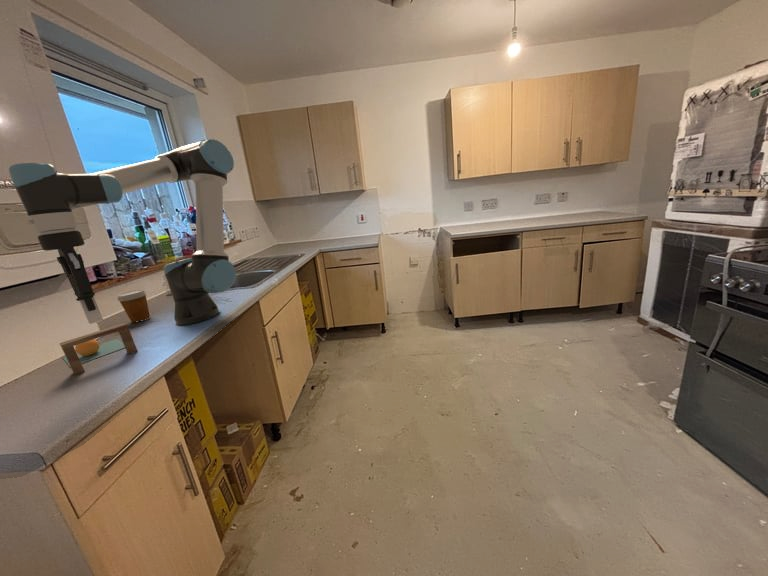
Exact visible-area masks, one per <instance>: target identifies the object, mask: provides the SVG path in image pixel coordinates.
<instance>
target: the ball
mask: <svg viewBox="0 0 768 576" xmlns="http://www.w3.org/2000/svg"><path fill="white" fill-rule="evenodd" d="M99 345H100V343H99V341H97V339H93V340H90V341H87V342H84V343H81V344H78V345H75V347H74V349H75V351H76V352H77V353H78V354H79V355H82V356H90V355H93V354H95V353H96V352H97V351H98V350H99Z"/></svg>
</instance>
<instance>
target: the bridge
mask: <svg viewBox="0 0 768 576" xmlns="http://www.w3.org/2000/svg"><path fill="white" fill-rule="evenodd" d="M117 332H118V334H119V336H120V338H121V340H122V341H121V342H123V344H124V346H125V348H124V349H125V351H126V353H127V354H129V355H132V354H134V353H138V348H137V346H136V343H135V341H134V339H133V335H132V333H131V331H130V328H129V326H128V324H127V323H125V322H122V323H119V324H116V325H113V326H111V327H108V328H104V329H101V330H98V331H93V332H91V333H89V334H86V335H85V334H84V335H82V336H79V337H75V338H72V339H69V340H66V341H65V340H64V341H63V342H59V345H60V347H61V349H62V351H63V354H64V357H65V356H66V358H67V360H68V362H69V364H70V366H69V368H70V369H71V371H72V373H73V374H74V375H75V376H77V375H79V374H82V373H85V372H86V371H85V369H84V366H83V364H81V362H80V360H79V358H78V355H77V353H76V350H75V347H76V345H78V344H81V343H84V342H87V341H90V340H93V339H94V340H97V339H100V338H102V337H106V336H108V335H111V334H114V333H117ZM74 346H75V347H74Z"/></svg>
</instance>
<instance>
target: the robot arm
mask: <svg viewBox="0 0 768 576" xmlns="http://www.w3.org/2000/svg"><path fill="white" fill-rule="evenodd" d="M234 166H235V162H234V158H233V155H232V153H231V152H230V150H229V149H228V147H227V146H226V145H225V144H224V143H222V142H221V141H219V140H218V139H215V138H213V139H212V138H211V139H210V138H209V139H202V140H200V141H198V142H194V143H190V144H187V145H183V146H180V147H178V148H175V149H173V150H171V151H168V152H165V153H162V154H158V155H156V156H155V158H154V159H150V160H145V161H142V162H137V163H133V164H127V165H124V166H120V167H116V168H115V167H114V168H110V169H107V170H103V171H102V170H101V171H97V172H94V173H61V172H60V173H59V172H58V171H57V170H56V168H55V167H54V165H52V164H51V163H43V162H23V163H22V162H20V163H15V164H12V165H10V166H9V167H8V172H9V174H10V178H11V181H12V184H13V188H15V190H16V193H17V194H18V196H19V199H20V201H21V203H22V205H23V207H24V209H25V211H26V214H27V216H28V218H29V219H28V220H26V223H27V225H32V228H33V230H34V231H35V233H37V234H38V233H39V235H38V236H37V239H38V242H39V244H40V246H41V249H42V250H43V251H47V252H48V251H55V250H57V252H58V255H59V256H57V257H56V260H57V262H58V264H60V266H61V269H62V270H63V272H64V274H65V275H66V277H67V279H68V282H69V284H70V286H71V288H72V291H73V292H74V295H75V297H76V298H75V301H77V302H79V303H80V305H81V308H82V311H83V312H84V315H85V317H86V319H87V323H88V324H89V325H92V324H94V323H98V322H101V321H104V318H103V316H102V314H101V311H100V309H99V305H98V303H97V301H96V299H95V297H94V296H96V294H95V292H94V290H93V287H92V284H91V282H90V279H89V275H88V273H87V270H86V268H85V263H84V260H83V257H82V255H81V253H77V251H76V250H75V248H74V247H81V246H84V245H85V241H84V238H83V235H82V232H81V231H79V230H77V229H78V228H79V225H78V221H77V220H76V217H75V215H74V212H73V211H72V210H74V209H75V210H76V209H79V208H86V207H90V206H95V205H103V204H107V205H109V204H114V203H120V201H121V200H122V199H123V196H124V195H125V194H129V193H132V192H135V191H136V192H137V191H139V190H143V189H146V188H149V187H152V186H153V187H154V186H156V185H159V184H163V183H170V184H174V183H177V182H183V181H189V180H190V181H193V183H194V184H195V185H194V186H195V187H194V188H195V228H196V229H195V230H196V232H195V233H196V235H195V236H196V237H195V238H196V239H195V240H196V250H195V251H194V252H193V253H192V254H191V257H189V258H184V259H181V260H176V261H173V262H170V263H166V264H165V265H164V266H163V272H164V277H165V278H166V281H167V284H168V287H169V290H170V293H171V296H172V299H173V301H174V321H175V324H176V325H179V326H185V325H186V326H187V325H191V324H196V323H200V322H203V320H204V321H207V320H209V319H211V318H210V317H212V316H214V315H216V314H217V313H218V312H219V313H220V309H219V307H218V305H217V303H215V301H214V300H213V299H212V297H211V296H210V294H219V293H224V292H226V291H228V290H229V289H231V287H232V286H233V285H234V283H235V280H236V277H237V272H236V268H235V266H233V263H232V262H231V261H229V255H228V254H227V253H226V252H225V251H224V249H225V244H224V242H225V241H224V201H223V198H224V196H223V194H224V192H223V189H224V186H225V185H226V184H227V183H228V174H230V173H231V171H233V169H234ZM219 313H218V314H219ZM218 314H217V315H218ZM217 315H216V316H217ZM214 317H215V316H214ZM208 318H209V319H208ZM212 318H213V317H212ZM206 319H207V320H206Z"/></svg>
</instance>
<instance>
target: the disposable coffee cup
mask: <svg viewBox="0 0 768 576" xmlns="http://www.w3.org/2000/svg"><path fill="white" fill-rule="evenodd" d="M116 300H117V301H119V303H120V305H121V306H122V308H123V309H124V311H125V313H126V315H127V317H128V319H129V320H130V322H131V323H132V322H136V321H141V320H145V319H147V318H149V317H150V318H151V316H150V315H151V314H150V310H149V304H148V301H147V292H146V291H145V290H144V288H143V289H135V290H129V291H127V292H123V293H119V294H118V295H117V299H116ZM150 318H149V319H150ZM147 320H148V319H147ZM145 321H146V320H145Z"/></svg>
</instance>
